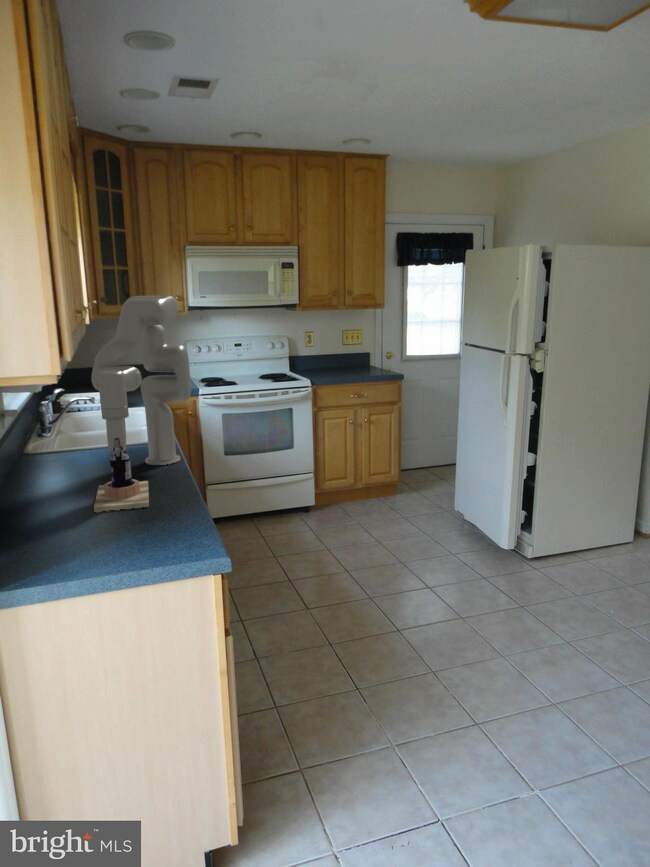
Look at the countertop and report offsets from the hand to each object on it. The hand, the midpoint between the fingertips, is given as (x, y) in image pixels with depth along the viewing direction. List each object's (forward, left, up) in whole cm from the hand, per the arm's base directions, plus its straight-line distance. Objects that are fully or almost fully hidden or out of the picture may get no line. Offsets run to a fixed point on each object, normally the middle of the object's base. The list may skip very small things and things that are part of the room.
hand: (120, 468), depth 190 cm
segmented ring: (0, 0, -8) cm, 8 cm away
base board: (0, 0, -9) cm, 9 cm away
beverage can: (0, 0, -8) cm, 8 cm away
